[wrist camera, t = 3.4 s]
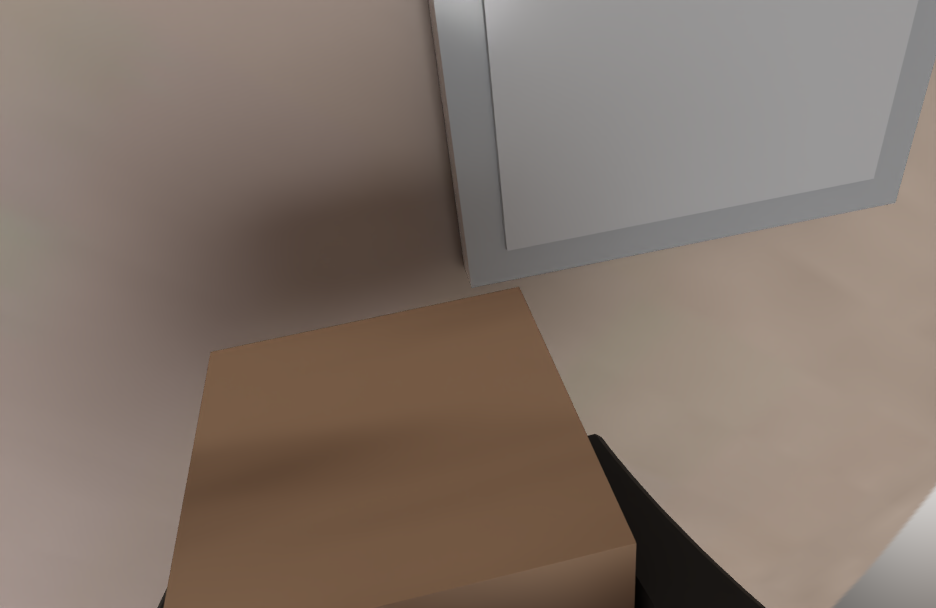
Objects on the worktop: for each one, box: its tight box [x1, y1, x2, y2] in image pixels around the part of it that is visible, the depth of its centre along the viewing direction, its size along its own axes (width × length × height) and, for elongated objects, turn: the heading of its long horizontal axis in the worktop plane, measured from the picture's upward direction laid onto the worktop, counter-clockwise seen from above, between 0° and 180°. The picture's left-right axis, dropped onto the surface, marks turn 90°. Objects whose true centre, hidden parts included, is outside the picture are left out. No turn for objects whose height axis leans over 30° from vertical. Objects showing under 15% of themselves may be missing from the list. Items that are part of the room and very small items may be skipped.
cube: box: [164, 287, 636, 608], centre depth 11 cm, size 5×5×5 cm
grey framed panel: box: [428, 0, 936, 288], centre depth 16 cm, size 12×12×1 cm
